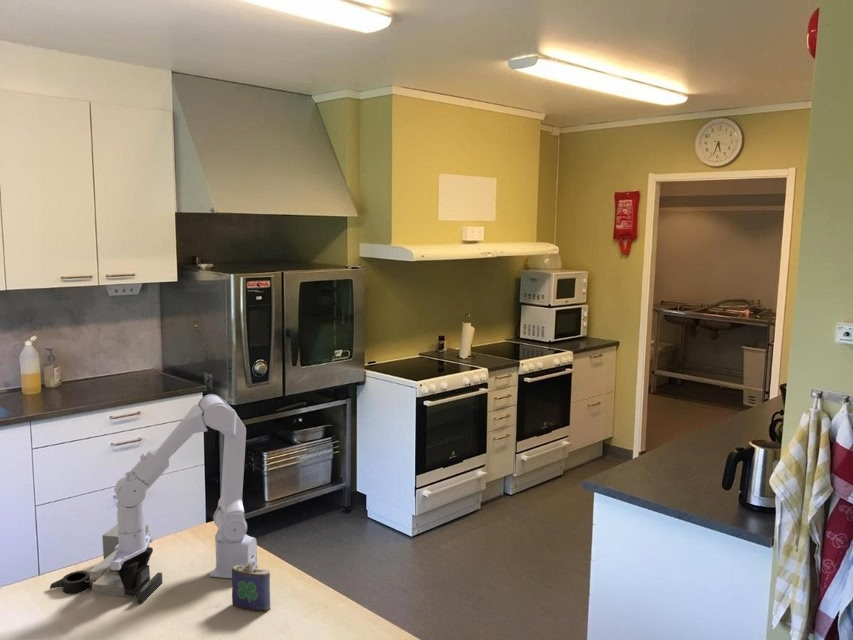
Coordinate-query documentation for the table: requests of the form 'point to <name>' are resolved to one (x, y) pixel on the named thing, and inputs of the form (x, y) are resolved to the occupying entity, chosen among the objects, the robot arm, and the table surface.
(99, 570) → the grey cube mallet
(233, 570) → the flask
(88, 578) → the black ring with tabs
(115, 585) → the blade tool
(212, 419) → the robot arm
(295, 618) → the table surface
